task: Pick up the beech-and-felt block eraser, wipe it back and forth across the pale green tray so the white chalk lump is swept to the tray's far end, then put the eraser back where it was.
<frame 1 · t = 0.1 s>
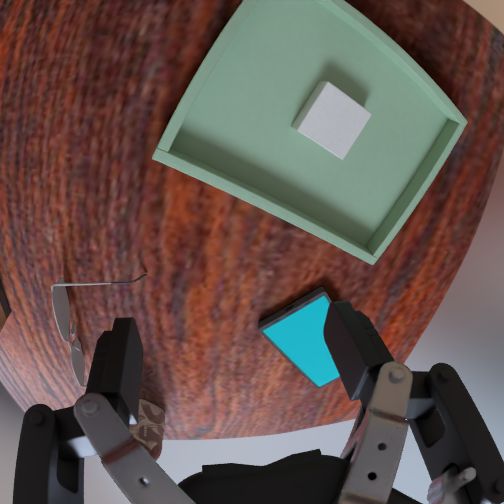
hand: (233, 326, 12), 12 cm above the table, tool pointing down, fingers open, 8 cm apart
tray: (330, 120, 21), on the table
chalk lump: (327, 118, 20), point 1 cm above the table, touching tray
eyeglasses: (110, 325, 27), on the table
smartphone: (318, 342, 33), on the table
figurine: (139, 410, 36), on the table
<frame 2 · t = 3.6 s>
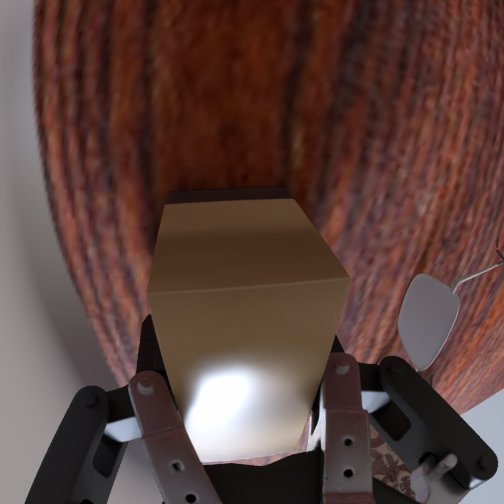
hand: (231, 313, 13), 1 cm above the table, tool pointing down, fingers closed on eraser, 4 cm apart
eyeglasses: (428, 329, 19), on the table
figurine: (373, 430, 28), on the table
eraser: (228, 293, 14), on the table, touching gripper
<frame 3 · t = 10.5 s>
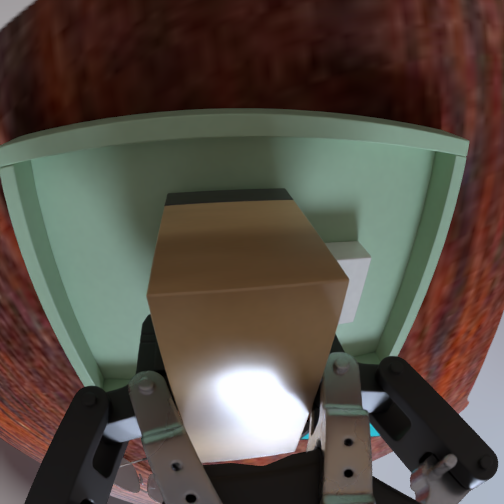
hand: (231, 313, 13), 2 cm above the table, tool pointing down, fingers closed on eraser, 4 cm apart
tray: (244, 275, 15), on the table
chalk lump: (314, 277, 15), point 1 cm above the table, touching eraser
eyeglasses: (170, 462, 27), on the table
eraser: (228, 294, 14), point 1 cm above the table, touching chalk lump, gripper
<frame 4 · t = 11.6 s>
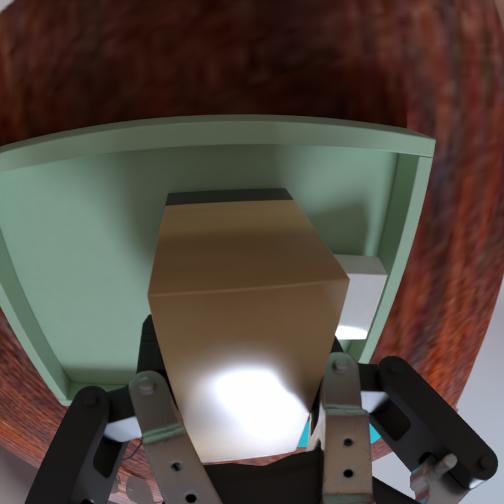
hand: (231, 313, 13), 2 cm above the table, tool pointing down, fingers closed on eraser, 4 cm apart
tray: (193, 286, 15), on the table
chalk lump: (331, 288, 15), point 1 cm above the table, tilted 13°, touching gripper, tray
eyeglasses: (147, 465, 27), on the table
smartphone: (347, 423, 26), on the table
eraser: (229, 294, 14), point 1 cm above the table, touching gripper
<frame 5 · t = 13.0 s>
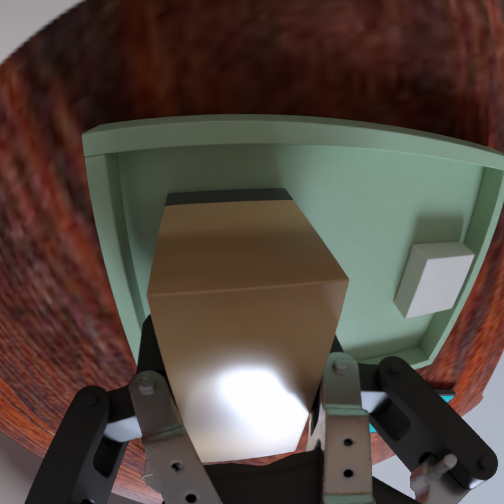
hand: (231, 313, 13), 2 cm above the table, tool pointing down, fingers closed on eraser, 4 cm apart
tray: (324, 276, 16), on the table
chalk lump: (427, 271, 16), point 1 cm above the table, touching tray
eraser: (228, 294, 14), point 1 cm above the table, touching gripper
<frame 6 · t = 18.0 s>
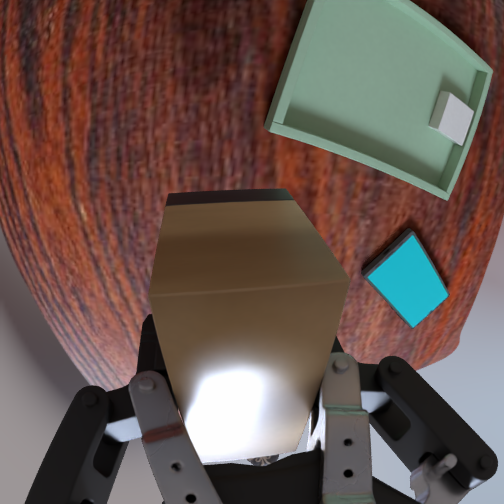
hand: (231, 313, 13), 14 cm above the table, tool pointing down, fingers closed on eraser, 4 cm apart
tray: (395, 85, 22), on the table
chalk lump: (447, 116, 23), point 1 cm above the table, touching tray
smartphone: (409, 282, 34), on the table
eraser: (229, 294, 14), point 13 cm above the table, touching gripper
when the fingers open (1 cm above the table, at t = 22.5 s): eraser stays where it is, on the table.
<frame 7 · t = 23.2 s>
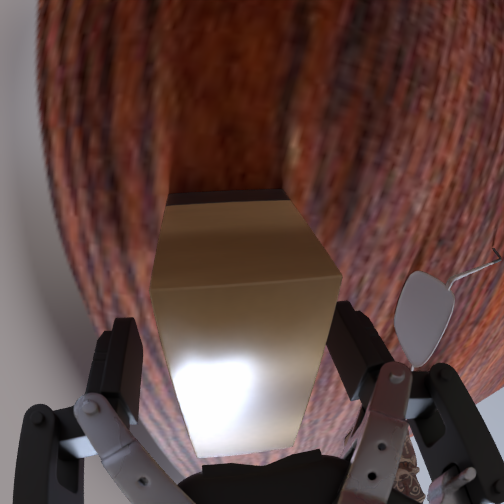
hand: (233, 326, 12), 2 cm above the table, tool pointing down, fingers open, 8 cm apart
eyeglasses: (425, 327, 19), on the table
figurine: (372, 429, 28), on the table
eraser: (227, 292, 14), on the table
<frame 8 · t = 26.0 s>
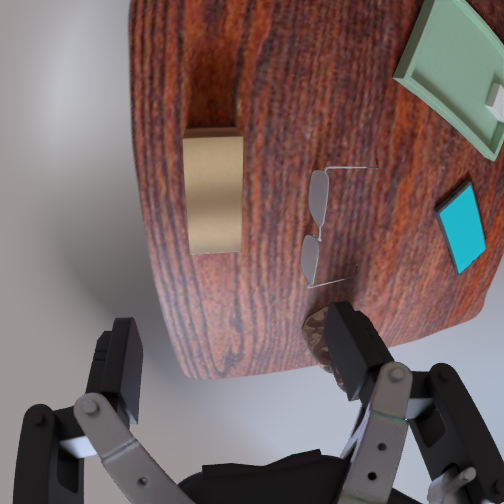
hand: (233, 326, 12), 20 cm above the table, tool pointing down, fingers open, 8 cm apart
tray: (467, 72, 26), on the table
chalk lump: (495, 101, 28), point 1 cm above the table, touching tray
eyeglasses: (337, 219, 34), on the table
smartphone: (461, 229, 38), on the table
figurine: (324, 324, 43), on the table
eraser: (211, 176, 29), on the table
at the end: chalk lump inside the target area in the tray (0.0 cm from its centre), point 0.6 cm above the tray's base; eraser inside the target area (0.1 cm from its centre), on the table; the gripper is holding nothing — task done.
